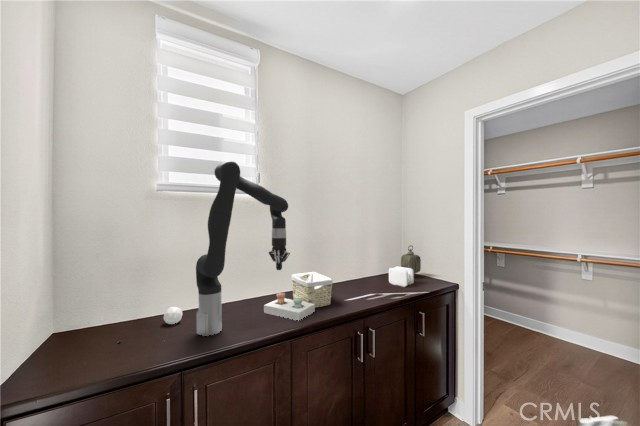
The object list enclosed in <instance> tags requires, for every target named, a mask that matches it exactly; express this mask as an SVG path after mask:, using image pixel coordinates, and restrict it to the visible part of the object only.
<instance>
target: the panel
mask: <svg viewBox="0 0 640 426" xmlns="http://www.w3.org/2000/svg"><path fill="white" fill-rule="evenodd" d="M315 310H316V308H315V304H312V303H307V302H302V308H300V309H298V308H294V302H293V299H291V298H286V297H284V304H283V305H279V304H278V298H276V299H275V300H273V301H270V302H268V303H266V304H264V305H263V313H264V314H268V315H271V316H276V317H279V316H280V318H283V317H284V319H287V318H289V319H288V320H292V319H293V321H296V320H298V321H297V322H300V321H302V320H304V319H305V318H307V317H309V316H311V315H312V314H314V313H315ZM313 312H314V313H313ZM308 315H309V316H308ZM306 316H307V317H306ZM304 317H305V318H304ZM303 318H304V319H303ZM301 319H302V320H301ZM299 320H300V321H299Z"/></svg>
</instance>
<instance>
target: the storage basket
mask: <svg viewBox="0 0 640 426" xmlns="http://www.w3.org/2000/svg"><path fill="white" fill-rule="evenodd" d="M290 279H291V281H292V284H291V286H292V297H293V298H292V299H295V298H302V299H303V302H307V303H312V304H315V309H316V308H320V307H321V308H322V307H326V306H330V305H331V302H332V301H331V300H332V299H331V298H332V290H333V289H332V288H333V284H334V282H333V279H332V278H330V277H328V276H326V275H323V274H320V273H319V272H316V271H311V272H310V271H309V272H301V273H300V272H299V273H294V274H291V278H290ZM303 279H304V280H303Z"/></svg>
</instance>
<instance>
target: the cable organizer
mask: <svg viewBox="0 0 640 426" xmlns="http://www.w3.org/2000/svg"><path fill="white" fill-rule="evenodd" d="M414 276H415V274H414V271H413V269H411V268H405V267H401V266H398V265H397V266H394V267H389V268H388V282H389V284H391V285H392V286H399V287H403V288H405V287H408V285H409V286H410V285H413V284H414V282H415V278H414Z"/></svg>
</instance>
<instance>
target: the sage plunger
mask: <svg viewBox="0 0 640 426" xmlns="http://www.w3.org/2000/svg"><path fill="white" fill-rule="evenodd" d="M292 300H293V302H294V308H298V309H300V308H302V302H303V299H302V298H295V299H294V298H292Z"/></svg>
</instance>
